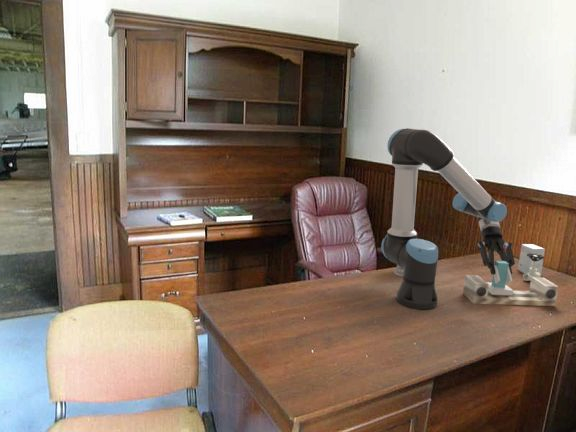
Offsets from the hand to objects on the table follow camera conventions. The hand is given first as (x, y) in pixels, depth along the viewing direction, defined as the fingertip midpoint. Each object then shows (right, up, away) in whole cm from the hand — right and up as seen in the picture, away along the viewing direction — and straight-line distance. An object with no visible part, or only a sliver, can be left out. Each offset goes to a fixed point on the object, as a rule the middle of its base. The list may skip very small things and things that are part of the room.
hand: (503, 282), depth 174 cm
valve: (+26, -4, +29) cm, 39 cm away
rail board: (+4, -8, +6) cm, 11 cm away
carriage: (0, -5, +5) cm, 7 cm away
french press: (-29, -1, +31) cm, 43 cm away
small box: (+31, -2, +40) cm, 50 cm away
